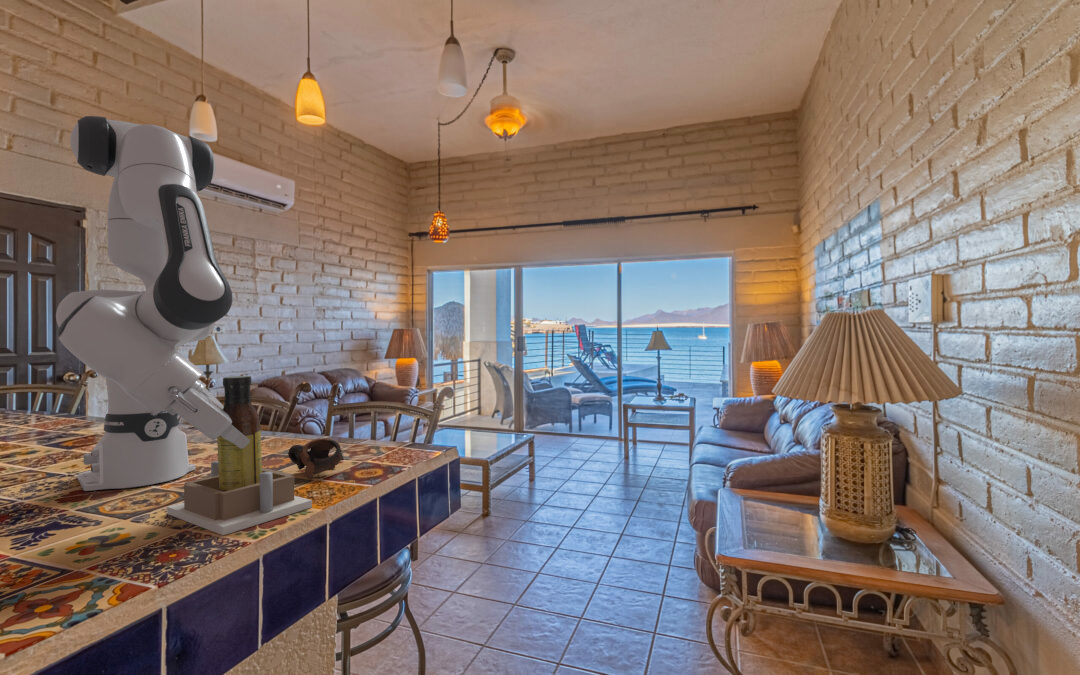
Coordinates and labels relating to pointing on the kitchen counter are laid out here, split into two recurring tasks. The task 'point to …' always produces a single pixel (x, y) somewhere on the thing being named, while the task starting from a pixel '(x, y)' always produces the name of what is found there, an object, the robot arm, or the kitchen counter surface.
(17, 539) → the kitchen counter surface
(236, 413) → the sauce bottle
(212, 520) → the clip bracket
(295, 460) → the pottery mug
